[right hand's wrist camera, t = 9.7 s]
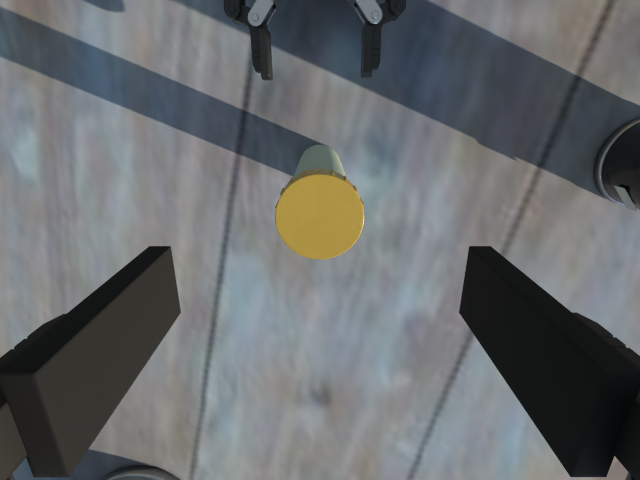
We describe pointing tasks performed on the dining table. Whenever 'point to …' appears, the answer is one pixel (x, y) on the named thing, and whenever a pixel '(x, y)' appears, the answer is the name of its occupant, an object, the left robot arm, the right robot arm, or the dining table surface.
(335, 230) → the lid
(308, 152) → the pale green tube
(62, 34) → the dining table surface
